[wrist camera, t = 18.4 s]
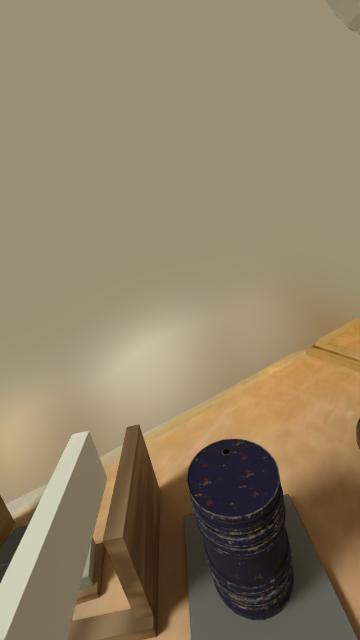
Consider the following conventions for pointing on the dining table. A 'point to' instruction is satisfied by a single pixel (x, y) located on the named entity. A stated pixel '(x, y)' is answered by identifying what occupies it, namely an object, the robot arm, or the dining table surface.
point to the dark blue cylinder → (243, 526)
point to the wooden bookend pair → (125, 547)
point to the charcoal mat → (297, 616)
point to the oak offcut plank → (94, 577)
